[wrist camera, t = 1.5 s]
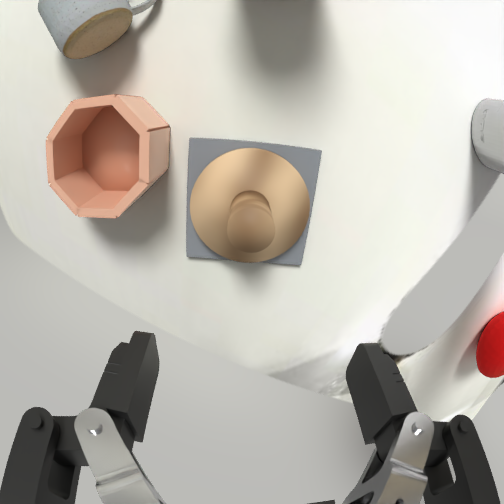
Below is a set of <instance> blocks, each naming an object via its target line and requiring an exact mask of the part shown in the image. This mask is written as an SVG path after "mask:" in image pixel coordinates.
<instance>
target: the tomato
mask: <svg viewBox="0 0 504 504" xmlns="http://www.w3.org/2000/svg"><path fill="white" fill-rule="evenodd" d="M476 360H477V366H478V369H479V371H480V372H481V373H482V374H483V375H484V376H487V377H489V378H496V377H500V376H502V375H504V312H501V313H500V314H498V315H496V316H495V317H494V318H493V319H492V320H491V321H490V322H489V323H488V324H487V325H486V327H485V328H484V330H483V332H482V334H481V336H480V339H479V341H478V345H477V351H476Z"/></svg>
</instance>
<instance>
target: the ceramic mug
mask: <svg viewBox="0 0 504 504" xmlns="http://www.w3.org/2000/svg"><path fill="white" fill-rule="evenodd" d="M156 1H157V0H147V1H145V2H143V3H141V4H139V5H137V6H135V7H130V4H129V2H128V0H39V3H38V11H39V13H40V15H41V17H42V19H43V21H44V23H45V25H46V27H47V28H48V30H49V32H50V34H51V36H52V37H53V39H54V41H55V43H56V45H57V47H58V48H59V50H60V51H61V52H62V53H63V54H64V55H65V56H66V57H68V58H70V59H81V58H85V57H88V56H91V55H93V54H96V53H98V52H100V51H101V50H103V49H105V48H106V47H108V46H110V45H111V44H112V43H114V42H115V41H116V40H117V39H119V38H120V37H121V36H122V35H123V34H124V33H125V32H126V30H127V29H128V28H129V26H130V24H131V22H132V17H133V15H136V14H139V13H141V12H143V11H145V10H146V9H148V8H149V7H151V6H152V5H153V4H154V3H155V2H156Z"/></svg>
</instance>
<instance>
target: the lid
mask: <svg viewBox="0 0 504 504" xmlns="http://www.w3.org/2000/svg"><path fill="white" fill-rule="evenodd" d="M309 212H310V199H309V193H308V190H307V187H306V184H305V182H304V180H303V178H302V177H301V175H300V174H299V172H298V171H297V170H296V169H295V168H294V167H293V166H292V164H290V163H289V162H288V161H287V160H286V159H284V158H283V157H281V156H280V155H278V154H276V153H274V152H271V151H268V150H265V149H259V148H240V149H236V150H232V151H229V152H226V153H224V154H222V155H220V156H219V157H217V158H216V159H214V160H213V161H212V162H210V163H209V164H208V165H207V166H206V167H205V169H204V170H203V171H202V173H201V174H200V175H199V177H198V179H197V180H196V182H195V184H194V187H193V189H192V193H191V197H190V215H191V220H192V223H193V226H194V228H195V230H196V232H197V234H198V236H199V237H200V239H201V240H202V241H203V242H204V243H205V244H206V245H207V246H208V247H209V248H210V249H211V250H213V251H214V252H215V253H217V254H219V255H221V256H223V257H225V258H227V259H230V260H234V261H238V262H249V263H252V262H261V261H266V260H269V259H272V258H274V257H276V256H279V255H280V254H282V253H284V252H285V251H287V250H288V249H289V248H290V247H292V246H293V245H294V244H295V242H296V241H297V240H298V239H299V237H300V236H301V235H302V233H303V231H304V229H305V227H306V224H307V222H308V218H309Z"/></svg>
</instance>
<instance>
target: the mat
mask: <svg viewBox="0 0 504 504" xmlns="http://www.w3.org/2000/svg"><path fill="white" fill-rule="evenodd" d="M240 148H259V149H265V150H268V151H271V152H274V153H276V154H278V155H280V156H281V157H283V158H284V159H286V160H287V161H288V162H289V163H290V164H292V166H293V167H294V168H295V169H296V170H297V171H298V172H299V174H300V175H301V177H302V178H303V180H304V182H305V184H306V187H307V190H308V193H309V199H310V212H309V218H308V222H307V224H306V227H305V229H304V231H303V233H302V235H301V236H300V237H299V239H298V240H297V241H296V242H295V244H294V245H293V246H292V247H290V248H289V249H288V250H287V251H285V252H284V253H282V254H280V255H279V256H276V257H274V258H272V259H269V260H266V261H261V262H265V263H279V264H293V265H301V263H302V258H303V253H304V248H305V243H306V238H307V233H308V228H309V223H310V217H311V212H312V206H313V201H314V195H315V189H316V183H317V177H318V171H319V165H320V159H321V152H322V151H321V150H316V149H309V148H302V147H295V146H288V145H280V144H271V143H262V142H252V141H240V140H227V139H210V138H189V155H188V178H187V223H186V252H187V257H200V258H212V259H225V260H230V259H227V258H225V257H223V256H221V255H219V254H217V253H215V252H214V251H213V250H211V249H210V248H209V247H208V246H207V245H206V244H205V243H204V242H203V241H202V240H201V239H200V237H199V236H198V234H197V232H196V230H195V228H194V226H193V223H192V220H191V215H190V197H191V193H192V189H193V187H194V184H195V182H196V180H197V179H198V177H199V175H200V174H201V173H202V171H203V170H204V169H205V167H206V166H207V165H208V164H209V163H210V162H212V161H213V160H214V159H216V158H217V157H219V156H220V155H222V154H224V153H226V152H229V151H232V150H236V149H240Z"/></svg>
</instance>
